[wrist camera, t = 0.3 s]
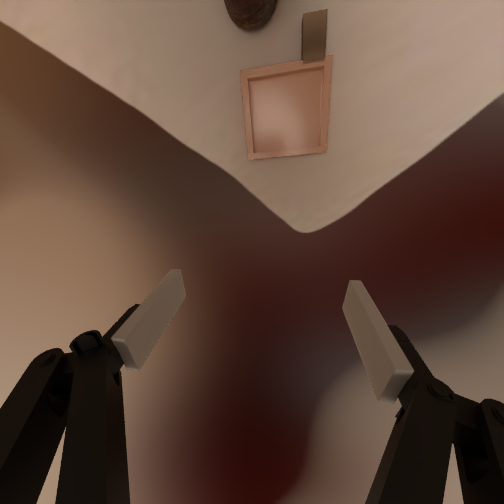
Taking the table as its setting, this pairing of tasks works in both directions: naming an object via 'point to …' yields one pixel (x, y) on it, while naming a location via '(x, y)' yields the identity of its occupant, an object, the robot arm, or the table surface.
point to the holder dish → (287, 108)
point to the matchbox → (314, 35)
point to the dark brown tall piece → (250, 12)
